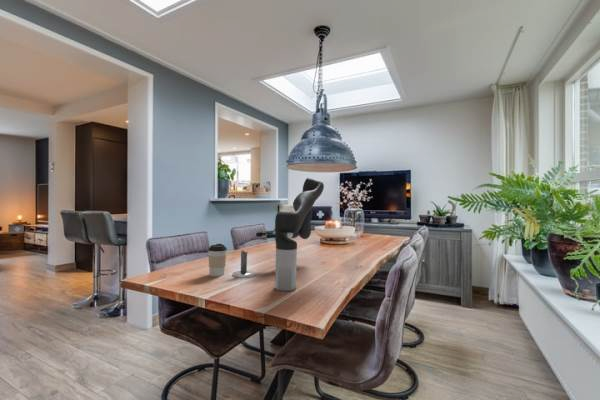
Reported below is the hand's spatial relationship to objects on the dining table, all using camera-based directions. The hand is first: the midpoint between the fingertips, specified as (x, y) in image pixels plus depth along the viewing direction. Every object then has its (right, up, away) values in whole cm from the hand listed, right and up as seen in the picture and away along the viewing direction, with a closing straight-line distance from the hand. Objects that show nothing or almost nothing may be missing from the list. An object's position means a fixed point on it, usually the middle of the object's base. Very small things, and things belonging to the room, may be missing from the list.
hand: (261, 235), depth 154 cm
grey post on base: (-8, -19, -8) cm, 22 cm away
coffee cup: (-21, -19, -10) cm, 30 cm away
